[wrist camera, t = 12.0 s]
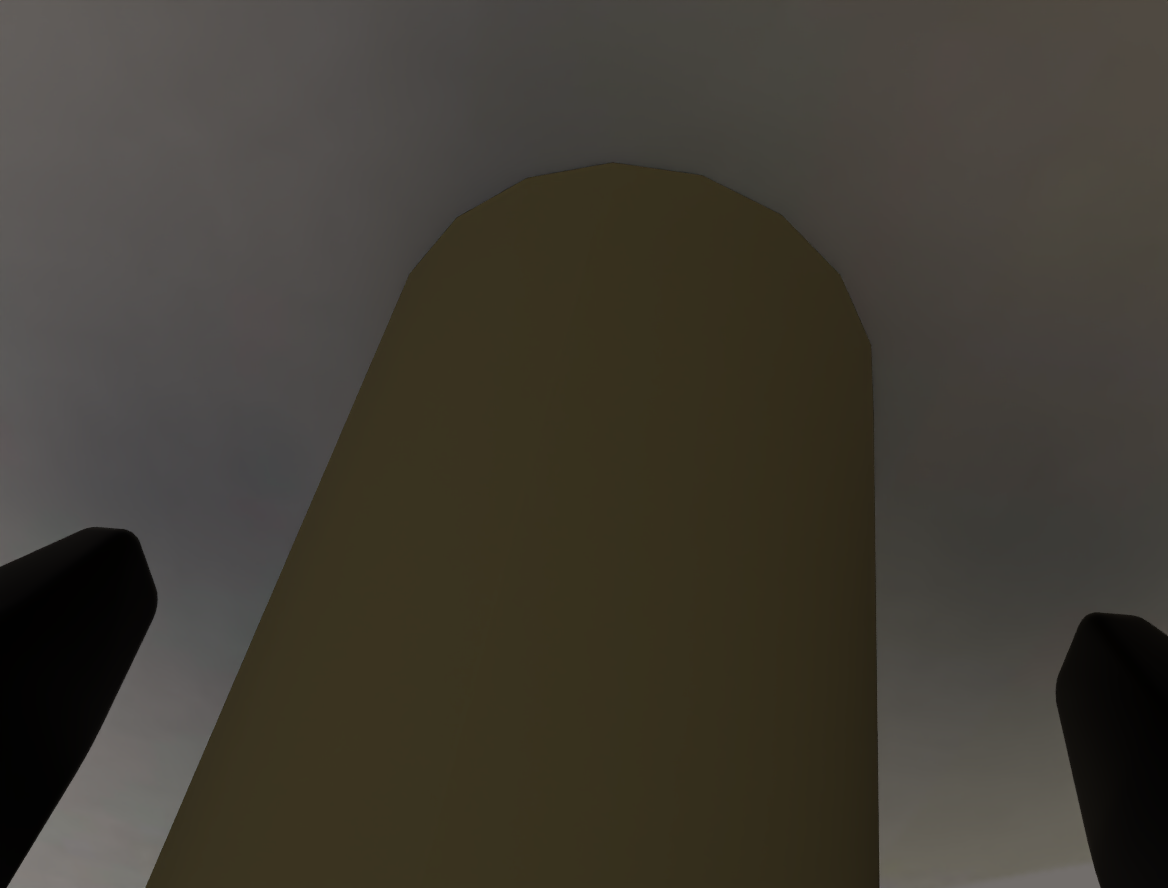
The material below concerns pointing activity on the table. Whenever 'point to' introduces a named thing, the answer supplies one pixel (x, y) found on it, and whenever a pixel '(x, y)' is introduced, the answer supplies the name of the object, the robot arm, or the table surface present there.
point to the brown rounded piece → (574, 574)
